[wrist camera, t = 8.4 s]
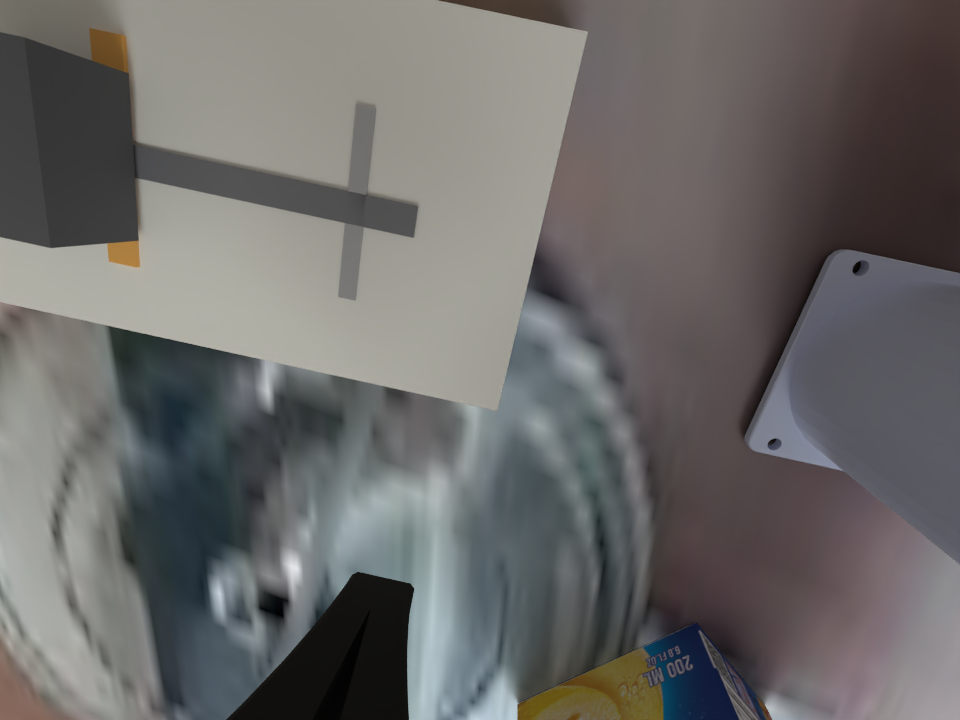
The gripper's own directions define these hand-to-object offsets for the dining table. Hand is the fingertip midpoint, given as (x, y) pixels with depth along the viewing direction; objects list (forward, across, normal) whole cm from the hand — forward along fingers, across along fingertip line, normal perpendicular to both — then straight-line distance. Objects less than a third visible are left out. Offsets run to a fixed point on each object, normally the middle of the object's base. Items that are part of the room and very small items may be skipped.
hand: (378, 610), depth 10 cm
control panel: (+9, +8, -8) cm, 15 cm away
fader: (+7, +13, -8) cm, 17 cm away
